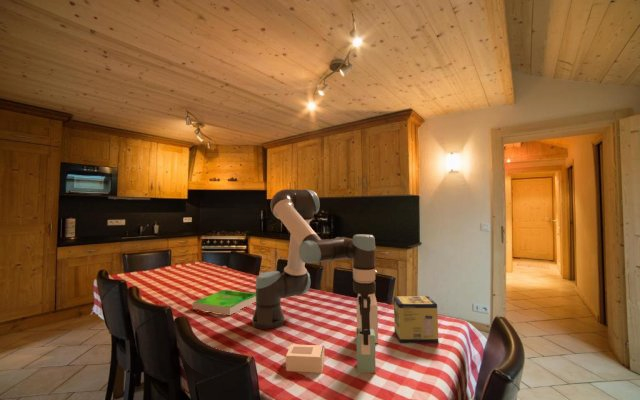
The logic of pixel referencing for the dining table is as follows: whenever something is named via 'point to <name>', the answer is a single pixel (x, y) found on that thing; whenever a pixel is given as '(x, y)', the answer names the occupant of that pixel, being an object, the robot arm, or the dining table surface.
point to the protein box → (415, 319)
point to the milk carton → (372, 313)
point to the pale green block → (363, 360)
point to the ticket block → (305, 358)
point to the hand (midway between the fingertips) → (364, 343)
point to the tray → (225, 302)
